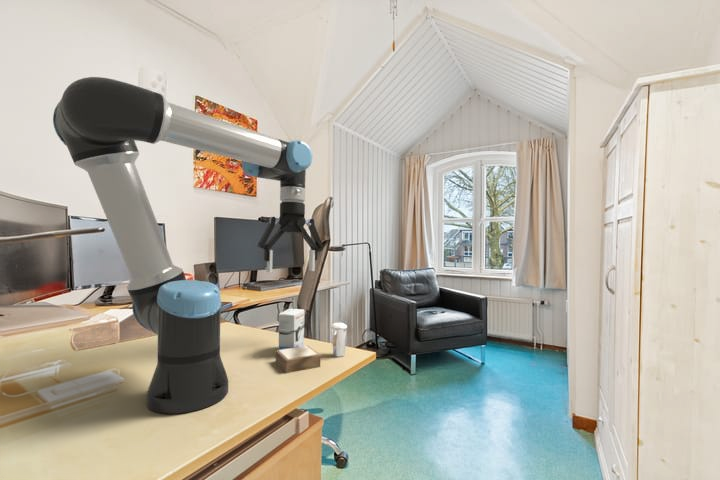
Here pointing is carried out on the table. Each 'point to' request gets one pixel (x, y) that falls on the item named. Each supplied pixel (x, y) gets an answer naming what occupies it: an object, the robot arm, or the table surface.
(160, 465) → the table surface
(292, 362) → the plinth
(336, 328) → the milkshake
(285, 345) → the ink box
